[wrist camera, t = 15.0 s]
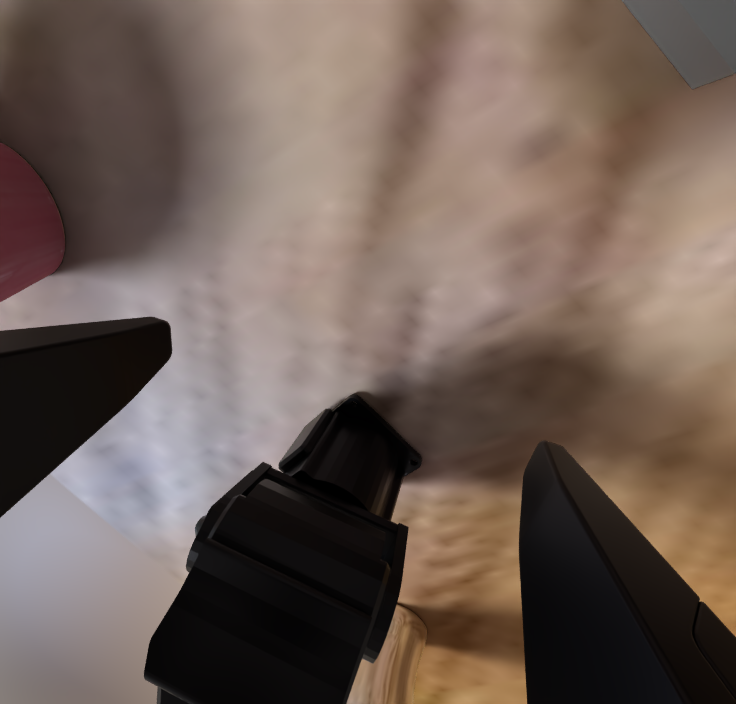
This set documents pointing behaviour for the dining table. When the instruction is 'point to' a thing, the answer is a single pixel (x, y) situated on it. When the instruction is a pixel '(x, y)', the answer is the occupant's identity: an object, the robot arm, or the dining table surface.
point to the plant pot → (26, 226)
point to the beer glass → (392, 664)
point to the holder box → (692, 35)
